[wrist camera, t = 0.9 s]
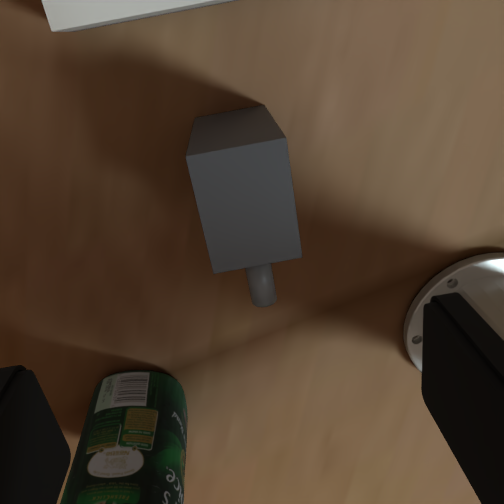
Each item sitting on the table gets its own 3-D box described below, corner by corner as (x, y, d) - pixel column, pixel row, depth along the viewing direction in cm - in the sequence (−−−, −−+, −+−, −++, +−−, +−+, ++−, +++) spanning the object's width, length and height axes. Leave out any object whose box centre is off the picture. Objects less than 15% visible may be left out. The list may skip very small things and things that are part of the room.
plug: (264, 104, 29) (286, 137, 20) (283, 231, 33) (309, 307, 24) (194, 117, 29) (185, 156, 20) (222, 243, 33) (225, 322, 24)
